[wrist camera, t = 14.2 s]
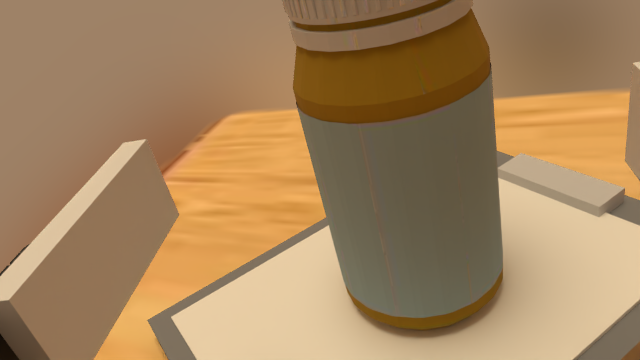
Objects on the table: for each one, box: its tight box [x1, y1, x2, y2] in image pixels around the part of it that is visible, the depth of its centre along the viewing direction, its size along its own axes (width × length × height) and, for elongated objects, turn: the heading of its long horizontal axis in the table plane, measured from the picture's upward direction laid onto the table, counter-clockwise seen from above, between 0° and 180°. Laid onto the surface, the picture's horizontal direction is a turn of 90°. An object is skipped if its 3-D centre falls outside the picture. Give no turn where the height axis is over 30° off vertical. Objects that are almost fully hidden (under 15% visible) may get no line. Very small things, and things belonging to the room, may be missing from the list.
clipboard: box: [148, 151, 640, 360], centre depth 24 cm, size 22×16×2 cm
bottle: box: [282, 0, 503, 330], centre depth 20 cm, size 7×7×15 cm
